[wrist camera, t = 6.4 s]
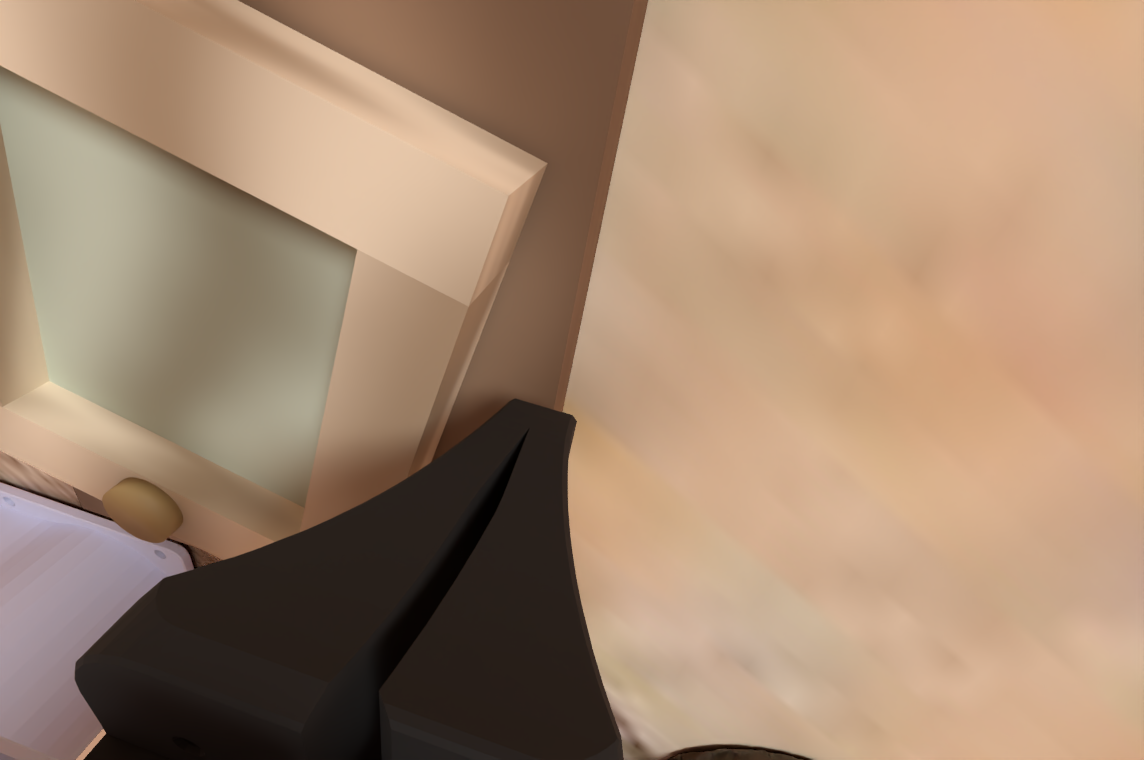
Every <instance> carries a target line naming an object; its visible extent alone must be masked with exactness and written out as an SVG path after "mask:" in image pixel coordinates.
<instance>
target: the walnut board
mask: <svg viewBox="0 0 1144 760" xmlns="http://www.w3.org/2000/svg"><path fill="white" fill-rule="evenodd" d="M238 1H240V2H242V3H244V4H246V5H248V6H250V7H251V8H253V9H255V10H257V11H259V12H261V13H263V14H265V15H267V16H269V17H270V18H272V19H274V20H276V21H278V22H280V23H282V24H284V25H286V26H288V27H289V28H291V29H293V30H295V31H297V32H299V33H301V34H303V35H305V36H307V37H308V38H310V39H312V40H314V41H316V42H318V43H320V44H322V45H324V46H326V47H327V48H329V49H331V50H333V51H335V52H337V53H339V54H341V55H343V56H345V57H346V58H348V59H350V60H352V61H354V62H356V63H358V64H360V65H362V66H364V67H365V68H367V69H369V70H371V71H373V72H375V73H377V74H379V75H381V76H383V77H384V78H386V79H388V80H390V81H392V82H394V83H396V84H398V85H400V86H402V87H403V88H405V89H407V90H409V91H411V92H413V93H415V94H417V95H419V96H421V97H422V98H424V99H426V100H428V101H430V102H432V103H434V104H436V105H438V106H440V107H441V108H443V109H445V110H447V111H449V112H451V113H453V114H455V115H457V116H459V117H460V118H462V119H464V120H466V121H468V122H470V123H472V124H474V125H476V126H478V127H479V128H481V129H483V130H485V131H487V132H489V133H491V134H493V135H495V136H497V137H498V138H500V139H502V140H504V141H506V142H508V143H510V144H512V145H514V146H516V147H517V148H519V149H521V150H523V151H525V152H527V153H529V154H531V155H533V156H535V157H536V158H538V159H540V160H542V161H544V162H546V163H548V164H547V166H546V169H545V172H544V174H543V177H542V179H541V182H540V184H539V187H538V190H537V192H536V195H535V197H534V200H533V202H532V205H531V207H530V210H529V213H528V215H527V218H526V220H525V223H524V225H523V228H522V231H521V233H520V236H519V238H518V241H517V243H516V246H515V248H514V251H513V254H512V256H511V259H510V261H509V264H508V266H507V269H506V271H505V274H504V277H503V279H502V282H501V284H500V287H499V289H498V292H497V295H496V297H495V300H494V302H493V305H492V307H491V310H490V312H489V315H488V318H487V320H486V323H485V325H484V328H483V330H482V333H481V336H480V338H479V341H478V343H477V346H476V348H475V351H474V353H473V356H472V359H471V361H470V364H469V366H468V369H467V371H466V374H465V377H464V379H463V382H462V384H461V387H460V389H459V392H458V394H457V397H456V400H455V402H454V405H453V407H452V410H451V412H450V415H449V417H448V420H447V423H446V425H445V428H444V430H443V433H442V435H441V438H440V441H439V443H438V446H437V448H436V451H435V453H434V456H433V458H432V461H434V460H435V459H437V458H438V457H440V456H441V455H443V454H444V453H445V452H447V451H448V450H450V449H451V448H452V447H454V446H455V445H456V444H458V443H459V442H460V441H462V440H463V439H464V438H466V437H467V436H468V435H470V434H471V433H472V432H474V431H475V430H476V429H477V428H479V427H480V426H481V425H482V424H483V423H485V422H486V421H487V420H488V419H490V418H491V417H492V416H493V415H494V414H495V413H497V412H498V411H499V410H500V409H501V408H502V407H503V406H505V405H506V404H507V403H508V402H509V401H511V400H513V399H515V398H516V399H519V400H523V401H526V402H529V403H533V404H536V405H540V406H543V407H546V408H550V409H553V410H556V411H560V412H562V411H563V406H564V401H565V396H566V392H567V387H568V382H569V377H570V372H571V368H572V363H573V358H574V353H575V348H576V344H577V339H578V334H579V329H580V324H581V320H582V315H583V310H584V305H585V301H586V296H587V291H588V286H589V281H590V277H591V272H592V267H593V262H594V257H595V253H596V248H597V243H598V238H599V233H600V229H601V224H602V219H603V214H604V209H605V205H606V200H607V195H608V190H609V185H610V181H611V176H612V171H613V166H614V161H615V157H616V152H617V147H618V142H619V137H620V133H621V128H622V123H623V118H624V114H625V109H626V104H627V99H628V94H629V90H630V85H631V80H632V75H633V70H634V66H635V61H636V56H637V51H638V46H639V42H640V37H641V32H642V27H643V22H644V18H645V13H646V8H647V3H648V0H238ZM432 461H431V462H432ZM72 487H73V486H72ZM73 489H74V491H75V493H76V495H77V497H78V499H79V502H80V504H81V506H82V508H83V509H86V510H89V511H92V512H95V513H98V514H101V515H103V516H106V517H109V518H111V517H110V516H109V515H108V513H107V512H106V510H105V508H104V506H103V502H102V501H101V500H99V499H97V498H95V497H93V496H91V495H89V494H87V493H85V492H83V491H81V490H79V489H77V488H75V487H73ZM168 538H170V539H173V540H176V541H178V542H181V543H184V544H187V545H190V546H193V545H191V544H189V543H187V542H185V541H183V540H181V539H179V538H177V537H175V536H173V535H170V536H169V537H168ZM193 547H195V546H193ZM196 548H197V547H196Z"/></svg>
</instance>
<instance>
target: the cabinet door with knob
mask: <svg viewBox="0 0 1144 760" xmlns="http://www.w3.org/2000/svg"><path fill="white" fill-rule="evenodd" d="M547 164H548V163H546V162H544V161H542V160H540V159H538V158H536V157H535V156H533V155H531V154H529V153H527V152H525V151H523V150H521V149H519V148H517V147H516V146H514V145H512V144H510V143H508V142H506V141H504V140H502V139H500V138H498V137H497V136H495V135H493V134H491V133H489V132H487V131H485V130H483V129H481V128H479V127H478V126H476V125H474V124H472V123H470V122H468V121H466V120H464V119H462V118H460V117H459V116H457V115H455V114H453V113H451V112H449V111H447V110H445V109H443V108H441V107H440V106H438V105H436V104H434V103H432V102H430V101H428V100H426V99H424V98H422V97H421V96H419V95H417V94H415V93H413V92H411V91H409V90H407V89H405V88H403V87H402V86H400V85H398V84H396V83H394V82H392V81H390V80H388V79H386V78H384V77H383V76H381V75H379V74H377V73H375V72H373V71H371V70H369V69H367V68H365V67H364V66H362V65H360V64H358V63H356V62H354V61H352V60H350V59H348V58H346V57H345V56H343V55H341V54H339V53H337V52H335V51H333V50H331V49H329V48H327V47H326V46H324V45H322V44H320V43H318V42H316V41H314V40H312V39H310V38H308V37H307V36H305V35H303V34H301V33H299V32H297V31H295V30H293V29H291V28H289V27H288V26H286V25H284V24H282V23H280V22H278V21H276V20H274V19H272V18H270V17H269V16H267V15H265V14H263V13H261V12H259V11H257V10H255V9H253V8H251V7H250V6H248V5H246V4H244V3H242V2H240V1H238V0H0V451H2V452H4V453H6V454H8V455H10V456H12V457H14V458H16V459H18V460H20V461H22V462H24V463H26V464H28V465H30V466H32V467H34V468H36V469H38V470H40V471H42V472H45V473H47V474H49V475H51V476H53V477H55V478H57V479H59V480H61V481H63V482H65V483H67V484H69V485H71V486H73V487H75V488H77V489H79V490H81V491H83V492H85V493H87V494H89V495H91V496H93V497H95V498H97V499H99V500H101V501H102V502H103V506H104V508H105V510H106V512H107V513H108V515H109V516H110V517H111V518H112V519H113V521H114V522H115V523H116V524H118V525H119V526H120V527H121V528H122V529H124V530H125V531H126V532H128V533H129V534H131V535H133V536H135V537H137V538H139V539H141V540H144V541H147V542H151V543H161V542H164V541H165V540H166V539H167V538H168V537H169V536H170V535H173V536H175V537H177V538H179V539H181V540H183V541H185V542H187V543H189V544H191V545H193V546H195V547H197V548H199V549H201V550H203V551H205V552H207V553H209V554H211V555H213V556H215V557H217V558H219V559H221V560H225V559H229V558H232V557H235V556H238V555H241V554H244V553H247V552H250V551H252V550H255V549H258V548H261V547H263V546H266V545H268V544H271V543H273V542H276V541H278V540H281V539H284V538H286V537H289V536H291V535H294V534H296V533H299V532H301V531H304V530H306V529H309V528H311V527H313V526H316V525H318V524H320V523H322V522H325V521H327V520H329V519H331V518H333V517H335V516H337V515H339V514H341V513H343V512H346V511H348V510H350V509H352V508H354V507H356V506H358V505H360V504H362V503H364V502H366V501H368V500H369V499H371V498H373V497H375V496H377V495H379V494H380V493H382V492H384V491H386V490H388V489H389V488H391V487H393V486H395V485H396V484H398V483H400V482H401V481H403V480H405V479H406V478H408V477H409V476H411V475H413V474H414V473H416V472H417V471H419V470H420V469H422V468H423V467H425V466H426V465H428V464H429V463H431V461H432V458H433V456H434V453H435V451H436V448H437V446H438V443H439V441H440V438H441V435H442V433H443V430H444V428H445V425H446V423H447V420H448V417H449V415H450V412H451V410H452V407H453V405H454V402H455V400H456V397H457V394H458V392H459V389H460V387H461V384H462V382H463V379H464V377H465V374H466V371H467V369H468V366H469V364H470V361H471V359H472V356H473V353H474V351H475V348H476V346H477V343H478V341H479V338H480V336H481V333H482V330H483V328H484V325H485V323H486V320H487V318H488V315H489V312H490V310H491V307H492V305H493V302H494V300H495V297H496V295H497V292H498V289H499V287H500V284H501V282H502V279H503V277H504V274H505V271H506V269H507V266H508V264H509V261H510V259H511V256H512V254H513V251H514V248H515V246H516V243H517V241H518V238H519V236H520V233H521V231H522V228H523V225H524V223H525V220H526V218H527V215H528V213H529V210H530V207H531V205H532V202H533V200H534V197H535V195H536V192H537V190H538V187H539V184H540V182H541V179H542V177H543V174H544V172H545V169H546V166H547Z"/></svg>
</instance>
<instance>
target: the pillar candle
mask: <svg viewBox="0 0 1144 760" xmlns="http://www.w3.org/2000/svg"><path fill="white" fill-rule="evenodd" d="M669 760H803V759H797V758H794V757H793V756H788V755H785V754H775V753H769V752H766V751H765V750H752V749H749V750H744V749H716V750H714V751H705V752H699V753H698V752H690V753H687V754H685V753H683V754H681V755H680V754H678V755H677V756H675V757H672V758H670V759H669Z"/></svg>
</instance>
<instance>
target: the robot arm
mask: <svg viewBox="0 0 1144 760" xmlns="http://www.w3.org/2000/svg"><path fill="white" fill-rule="evenodd" d="M576 422H577V421H576V420H575V418H574V417H573V415H570V414H566V413H563V412H560V411H556V410H553V409H550V408H546V407H543V406H540V405H536V404H533V403H529V402H526V401H523V400H519V399H516V398H515V399H513V400H511V401H509V402H508V403H507V404H506V405H505V406H503V407H502V408H501V409H500V410H499V411H498V412H497V413H495V414H494V415H493V416H492V417H491V418H490V419H488V420H487V421H486V422H485V423H483V424H482V425H481V426H480V427H479V428H477V429H476V430H475V431H474V432H472V433H471V434H470V435H468V436H467V437H466V438H464V439H463V440H462V441H460V442H459V443H458V444H456V445H455V446H454V447H452V448H451V449H450V450H448V451H447V452H445V453H444V454H443V455H441V456H440V457H438V458H437V459H435V460H434V461H432V462H431V463H429V464H428V465H426V466H425V467H423V468H422V469H420V470H419V471H417V472H416V473H414V474H413V475H411V476H409V477H408V478H406V479H405V480H403V481H401V482H400V483H398V484H396V485H395V486H393V487H391V488H389V489H388V490H386V491H384V492H382V493H380V494H379V495H377V496H375V497H373V498H371V499H369V500H368V501H366V502H364V503H362V504H360V505H358V506H356V507H354V508H352V509H350V510H348V511H346V512H343V513H341V514H339V515H337V516H335V517H333V518H331V519H329V520H327V521H325V522H322V523H320V524H318V525H316V526H313V527H311V528H309V529H306V530H304V531H301V532H299V533H296V534H294V535H291V536H289V537H286V538H284V539H281V540H278V541H276V542H273V543H271V544H268V545H266V546H263V547H261V548H258V549H255V550H252V551H250V552H247V553H244V554H241V555H238V556H235V557H232V558H229V559H225V560H222V561H219V562H216V563H212V564H209V565H206V566H203V567H199V568H196V569H194V567H193V564H192V561H191V558H190V555H189V553H188V551H187V550H186V549H185V548H184V547H182V546H181V545H179V544H177V543H174V542H171V541H168V540H165V541H164V542H161V543H151V542H147V541H144V540H141V539H139V538H137V537H135V536H133V535H131V534H129V533H128V532H126V531H125V530H124V529H122V528H121V527H120V526H119V525H118V524H116V523H115V522H114V521H111V520H108V519H105V518H102V517H99V516H96V515H93V514H91V513H88V512H85V511H82V510H79V509H76V508H73V507H70V506H68V505H65V504H62V503H59V502H56V501H53V500H50V499H47V498H45V497H42V496H39V495H36V494H33V493H30V492H27V491H24V490H22V489H19V488H16V487H13V486H10V485H7V484H4V483H1V482H0V760H76V758H77V757H78V756H79V755H80V754H81V753H82V752H83V751H84V750H85V748H86V747H87V746H88V745H89V744H90V743H91V742H92V740H93V739H94V738H95V737H96V736H97V735H98V734H99V733H100V731H101V730H102V729H104V730H105V732H106V735H105V736H104V737H103V738H102V739H101V740H100V741H99V743H98V744H97V745H96V746H95V747H94V748H93V749H92V751H91V752H90V753H89V754H88V755H87V756H86V757H85V759H84V760H624V758H623V750H622V740H621V735H620V732H619V729H618V727H617V724H616V721H615V718H614V715H613V713H612V710H611V707H610V704H609V701H608V698H607V695H606V692H605V689H604V686H603V683H602V680H601V676H600V673H599V670H598V666H597V663H596V659H595V656H594V653H593V649H592V645H591V641H590V637H589V633H588V629H587V625H586V621H585V617H584V613H583V609H582V605H581V600H580V595H579V590H578V585H577V579H576V574H575V567H574V561H573V554H572V547H571V538H570V528H569V515H568V458H569V453H570V448H571V444H572V440H573V435H574V431H575V427H576Z"/></svg>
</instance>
